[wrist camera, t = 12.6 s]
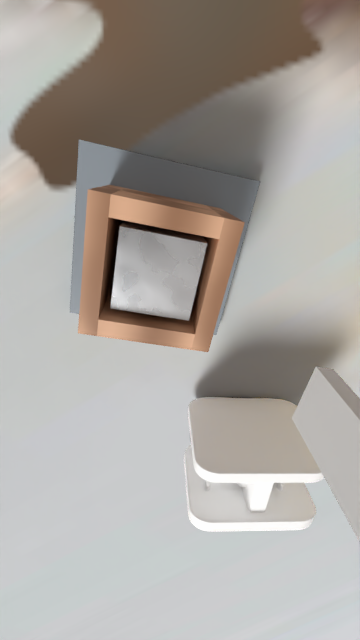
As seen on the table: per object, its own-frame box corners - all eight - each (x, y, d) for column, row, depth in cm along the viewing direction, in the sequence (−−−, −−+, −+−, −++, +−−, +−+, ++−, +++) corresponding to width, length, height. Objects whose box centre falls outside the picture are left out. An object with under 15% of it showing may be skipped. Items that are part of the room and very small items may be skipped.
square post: (122, 276, 30) (110, 308, 23) (130, 212, 28) (119, 226, 21) (182, 286, 31) (189, 320, 24) (195, 226, 29) (207, 243, 22)
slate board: (73, 306, 33) (69, 312, 32) (83, 141, 26) (78, 139, 25) (214, 328, 35) (216, 335, 34) (255, 181, 29) (260, 181, 27)
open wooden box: (99, 291, 31) (77, 333, 23) (109, 184, 27) (87, 189, 19) (196, 307, 32) (208, 352, 24) (220, 208, 28) (244, 222, 20)
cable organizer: (298, 394, 41) (346, 471, 30) (281, 451, 45) (317, 534, 35) (187, 392, 39) (197, 471, 29) (181, 450, 44) (187, 537, 33)
